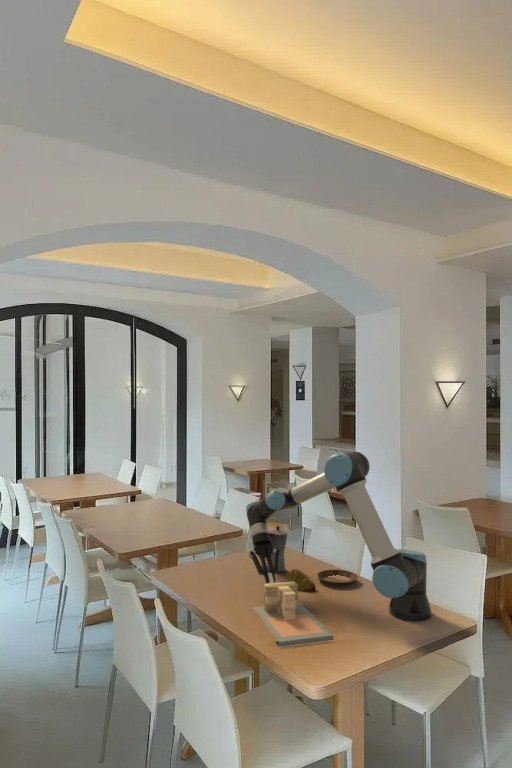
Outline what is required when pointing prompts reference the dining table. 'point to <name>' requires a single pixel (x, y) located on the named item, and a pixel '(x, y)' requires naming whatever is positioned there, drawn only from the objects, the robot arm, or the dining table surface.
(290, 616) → the t block
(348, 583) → the plant saucer
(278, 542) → the moka pot
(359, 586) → the dining table surface
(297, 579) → the potato
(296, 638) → the board
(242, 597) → the dining table surface
